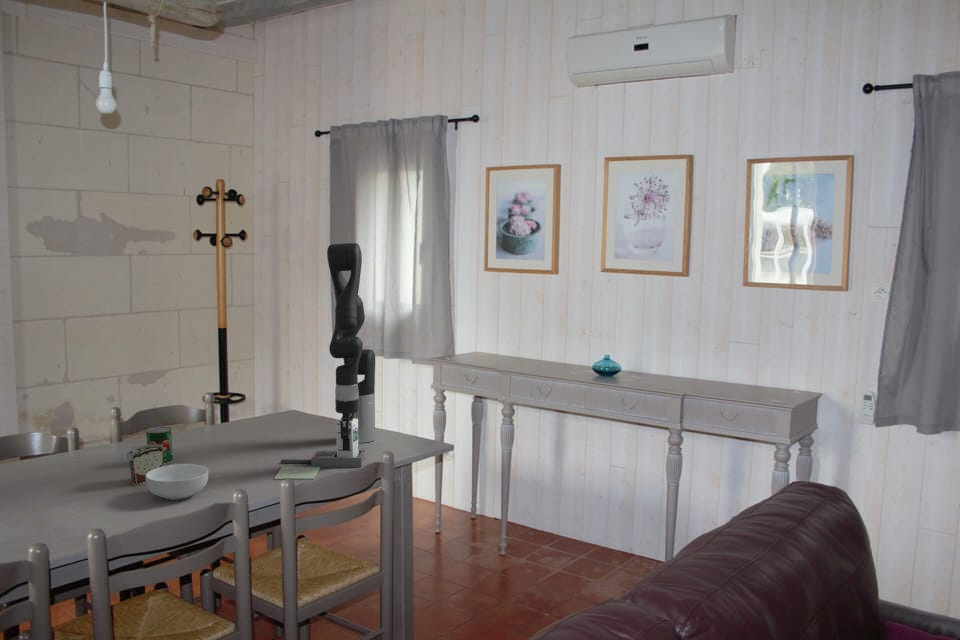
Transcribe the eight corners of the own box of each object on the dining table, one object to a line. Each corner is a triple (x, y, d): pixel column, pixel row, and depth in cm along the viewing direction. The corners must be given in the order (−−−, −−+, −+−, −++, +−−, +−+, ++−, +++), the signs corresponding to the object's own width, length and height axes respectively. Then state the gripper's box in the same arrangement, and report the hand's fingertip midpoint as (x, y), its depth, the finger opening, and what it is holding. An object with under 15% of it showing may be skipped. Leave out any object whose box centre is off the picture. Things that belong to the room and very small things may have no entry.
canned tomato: (166, 457, 276) (165, 425, 275) (177, 462, 270) (175, 429, 269) (143, 461, 270) (141, 429, 269) (153, 466, 265) (151, 433, 263)
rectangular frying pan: (283, 458, 274) (283, 448, 273) (365, 458, 274) (365, 448, 274) (276, 467, 264) (276, 457, 264) (361, 467, 264) (361, 456, 264)
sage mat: (282, 468, 263) (282, 467, 263) (320, 468, 263) (320, 466, 263) (274, 479, 251) (274, 478, 251) (313, 479, 251) (313, 478, 251)
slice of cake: (151, 473, 257) (150, 442, 256) (165, 476, 254) (164, 444, 253) (118, 484, 246) (116, 451, 245) (132, 487, 243) (131, 454, 242)
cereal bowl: (135, 504, 228) (134, 479, 227) (161, 486, 244) (160, 463, 244) (195, 505, 227) (194, 480, 226) (217, 487, 244) (217, 464, 243)
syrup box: (353, 465, 266) (352, 421, 264) (336, 464, 267) (335, 421, 266) (359, 461, 271) (358, 418, 270) (342, 460, 273) (341, 417, 271)
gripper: (338, 393, 274) (339, 442, 276) (331, 402, 260) (332, 453, 261) (361, 393, 274) (362, 442, 276) (355, 401, 260) (356, 453, 262)
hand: (347, 447), depth 269 cm, fingers closed on syrup box, 6 cm apart
